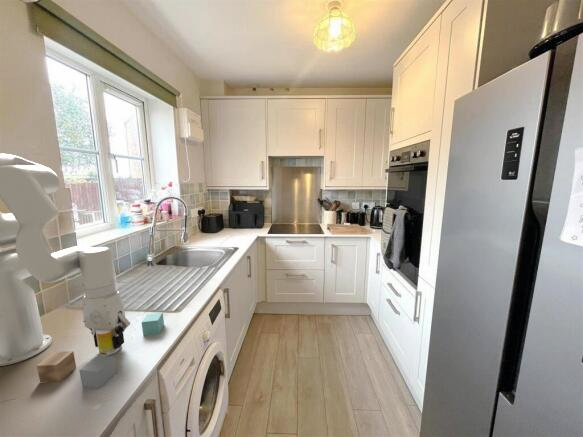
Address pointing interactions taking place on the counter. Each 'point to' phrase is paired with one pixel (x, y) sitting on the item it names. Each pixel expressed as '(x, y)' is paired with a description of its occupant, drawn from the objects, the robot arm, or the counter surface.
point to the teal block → (152, 323)
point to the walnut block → (56, 366)
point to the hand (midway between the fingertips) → (110, 344)
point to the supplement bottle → (105, 342)
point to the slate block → (98, 372)
